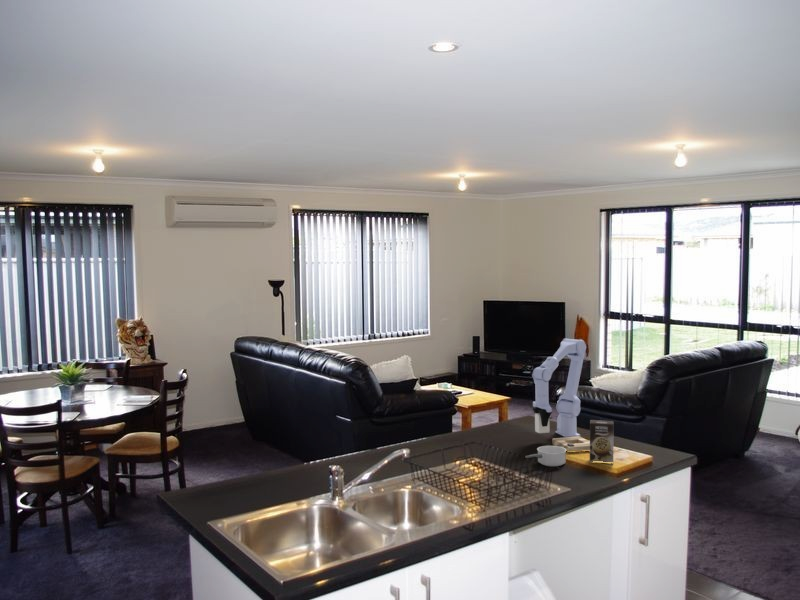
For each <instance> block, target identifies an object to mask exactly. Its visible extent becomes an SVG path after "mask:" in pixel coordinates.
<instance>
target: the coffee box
mask: <svg viewBox="0 0 800 600" xmlns="http://www.w3.org/2000/svg"><path fill="white" fill-rule="evenodd" d="M614 427H615V426H614V420H599V419H598V420H597V419H590V420H589V441H590V451H589V463H590V462H593V461H603V462H613V463H614V444H615V443H614V439H615V438H614V435H615V434H614V433H615V432H614V431H615V430H614Z"/></svg>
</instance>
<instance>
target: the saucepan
mask: <svg viewBox="0 0 800 600" xmlns="http://www.w3.org/2000/svg"><path fill="white" fill-rule="evenodd" d="M536 450H537V453H532V454H529V455H525V458H526V459H530V458H534V457H535V458H537V462H538V463H539V464H541V465H543V466H546V467H559V466H562V465H564V464H566V460H567V459H566V454H567V452H566V451H567V450H566V449H565V448H563V447H558V446H555V445H542V446H538V447H537V448H536Z"/></svg>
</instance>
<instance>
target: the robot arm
mask: <svg viewBox="0 0 800 600" xmlns="http://www.w3.org/2000/svg"><path fill="white" fill-rule="evenodd" d="M559 345H560V346H559V348H557V351H555V353H554V354H553V356H547V358H546V360H545V361H543V363H542V364H540V366H537V367H535V368H534V369H533V371H532V373H531V377H532V379H533V383H534V384H535V385H534V387H535V389H534V390H535V391H534V392H535V401H532V411H533V413H534V414H535V413H539V414H540V417H541V423H542V426H543V427H544V426H547V425H548V420H549V421H550V419H549V417H550V416H552V414H553V410H552V409H553V408H552V407H551V405H550V403H549V402H550V401H549V400H550V398H549V396H550V395H549V381H550V380H551V378H552V375H553V373H554V371H555V370H556V369H557V368H558V366H559V364H560V363H559V362H560V361H561V360H562V359H564V358H565V357H566V356H567V358H569V359H570V364H569V370H568V374H567V380H566V383H565V384H566V385H565V390H564V393H562V394H561V395H560V396H559V397H558V400H557V403H556V406H555V408H556V411H557V413H558V415H557V418H556V430H555V432H554V433H556V434H558V435H560V436H562V437H563V438H564V437H575V436H580V437H581V434H580V433H579V432H577V417H578V416H579V415H580V412H581V409H582V408H581V399H580V398H579V397H578V395H577V394H578V389H579V384H580V383H579V382H580V380H581V379H580V377H581V374H582V368H583V363H584V359H585V356H586V351H587V345H586V342H585V341H584V340H583V339H576V338H575V339H572V338H565V337H564V338H563V339H562V341H561V342H560V344H559Z"/></svg>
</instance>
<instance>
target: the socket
mask: <svg viewBox="0 0 800 600" xmlns="http://www.w3.org/2000/svg"><path fill="white" fill-rule="evenodd" d="M575 443H577V444H575ZM551 445H552V446H558V447H563V448H565V449H566V450H568V451H582V450H590V440H588V439H586V438H584V437H582V436H581V435H580V436H571V437H564V436H563V437H556V438H555V437H554V438H552V440H551Z"/></svg>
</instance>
